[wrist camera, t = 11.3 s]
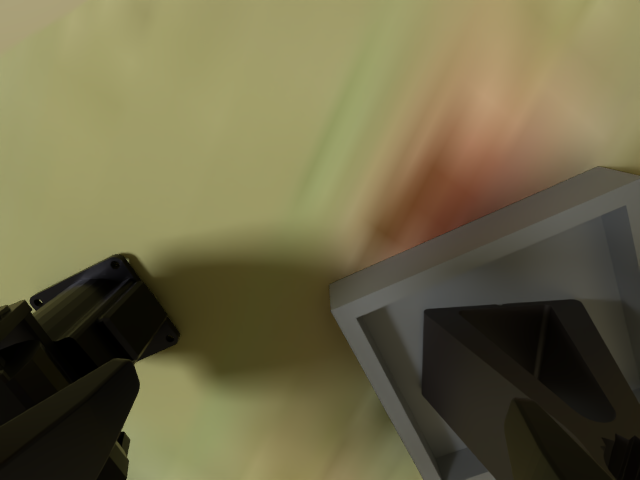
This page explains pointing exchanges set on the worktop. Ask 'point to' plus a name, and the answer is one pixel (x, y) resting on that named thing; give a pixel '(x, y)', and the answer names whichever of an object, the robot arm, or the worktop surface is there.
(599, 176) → the tray
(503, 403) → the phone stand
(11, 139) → the worktop surface
